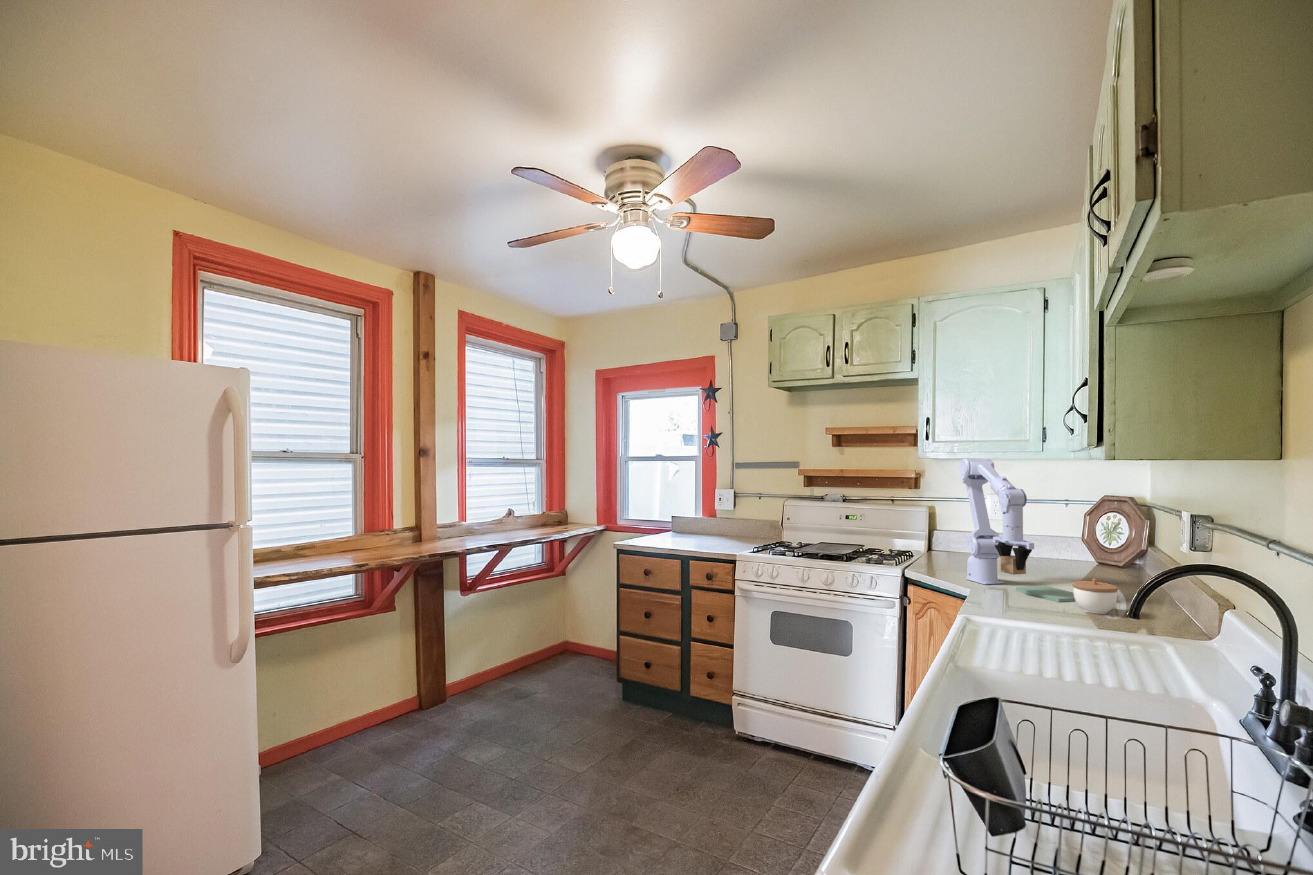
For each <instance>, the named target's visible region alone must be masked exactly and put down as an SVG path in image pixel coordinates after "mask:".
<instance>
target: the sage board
mask: <svg viewBox="0 0 1313 875" xmlns="http://www.w3.org/2000/svg"><path fill="white" fill-rule="evenodd" d="M1015 591H1017V592H1020V593H1024V594H1028V595H1031V596H1035V597H1039V598H1042V599H1046V600H1049V601H1053V602H1056V603H1064V602H1065V603H1067V602H1076V601H1075V599H1074V595H1073V591H1068V590H1065V589H1061V588H1058V587H1057V588H1056V587H1053V586H1050V585H1046V584H1045V585H1032V586H1017V587H1015Z"/></svg>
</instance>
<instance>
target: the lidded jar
mask: <svg viewBox="0 0 1313 875" xmlns="http://www.w3.org/2000/svg"><path fill="white" fill-rule="evenodd" d="M1071 584H1072V592H1073V595H1074V599H1075V601H1074V602H1075V603H1076V604H1077V605H1078V606H1079V608H1081V609H1082V611H1083V612H1086V613H1088V614H1097V615H1108V614H1109V613H1110V612H1111V611H1112V610H1113V609H1114V608H1115V606H1116V605H1117V600H1118V589H1119V588H1118V586H1116V585H1115V584H1112V583H1111V584H1110V583H1107V582H1101V581H1098V579H1097V578H1092V580H1091V581H1090V580H1075V581H1073V582H1072V583H1071Z"/></svg>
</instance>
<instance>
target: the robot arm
mask: <svg viewBox="0 0 1313 875" xmlns="http://www.w3.org/2000/svg"><path fill="white" fill-rule="evenodd" d="M959 473H960V478H961V481H962V483H963V484H965V486H966V491H967V497H968V502H969V506H970V512H971V516H972V521H973V522H972V523H973V527H974V530H973V531H971V532H970V533H969V535H968V536H967V539H968V543H967V544H968V545H967V546H968V547H967V548H968V551H969V553H970V554H971V555H970V556H969V557H968V559H967V562H966V565H967V567H966V569H967V570H966V571H967V575H966V577H965V580H968V581H972V582H974V583H978V584H982V585H997V584H998V585H999V584H1004V581H1001V580H999V579H998V559H1001V556H1012V551H1013V554H1014V556H1015V558H1016V568H1017V570H1024V566H1025V563H1026V564H1027V560H1028V558H1029V556H1030V554H1031V553H1032V551H1033V550H1035V543H1034V542H1031V541H1027V540H1024V507H1025V506H1026V504H1027V503H1028V498H1027V494H1026V491H1025V489H1023V488H1016V486H1014V485H1013V484H1012V483H1011V481H1009V480H1008V478H1007V477H1006V476H1000V475H999V473H998V472H997V470H996V469H995V462H994V461H993V460H992V459H991V458H963V459H961V462H960V465H959ZM988 482H989V483H990V484H989V485H990V489H991V491H993V492H994V493H995V494H996V496H997V497H998V503H999V505H1000V512H1002V536H1000V534H999V533H998V532H997V531H995V530H993V528H991V524H990V519H989V513H988V509H987V504H986V500H985V499H986V498H985V495H984V490H983V485H985V484H987V483H988Z"/></svg>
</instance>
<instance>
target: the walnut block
mask: <svg viewBox="0 0 1313 875" xmlns="http://www.w3.org/2000/svg"><path fill="white" fill-rule="evenodd" d="M1026 571H1027V562H1026V563H1025V566H1024V570H1017V568H1016V558H1015V555H1011V556H1001V558H1000V572H1001V573H1005V574H1009V575H1012V576H1014V575H1026V574H1027V572H1026Z"/></svg>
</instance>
